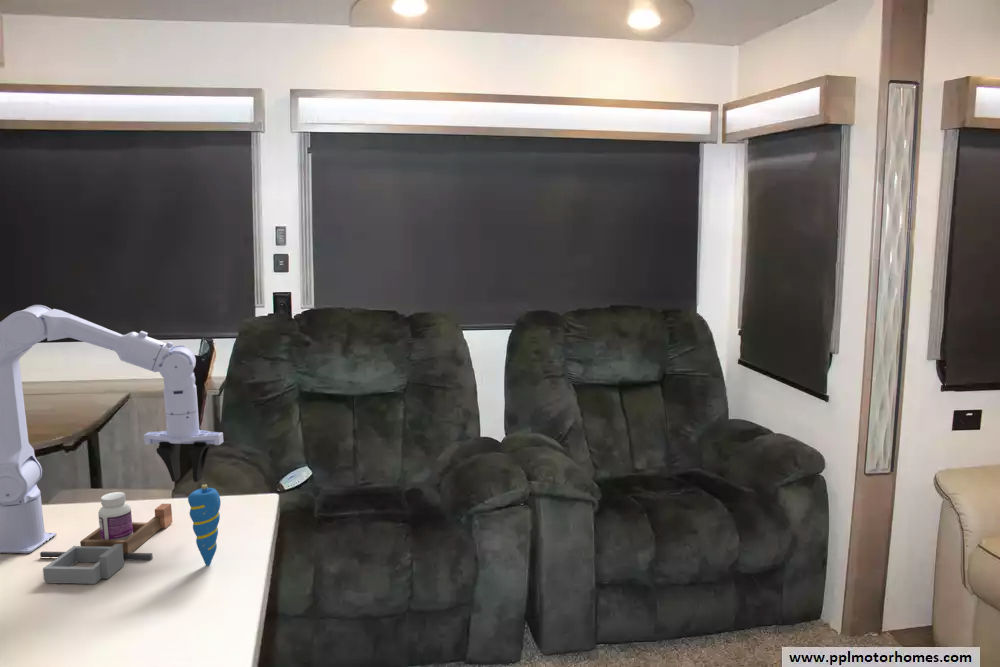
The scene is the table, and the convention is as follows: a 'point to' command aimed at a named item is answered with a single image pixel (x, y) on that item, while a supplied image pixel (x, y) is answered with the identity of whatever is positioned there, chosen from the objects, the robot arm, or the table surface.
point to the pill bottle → (115, 517)
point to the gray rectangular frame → (103, 569)
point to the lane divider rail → (125, 555)
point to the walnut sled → (134, 531)
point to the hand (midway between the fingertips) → (187, 480)
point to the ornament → (205, 520)
